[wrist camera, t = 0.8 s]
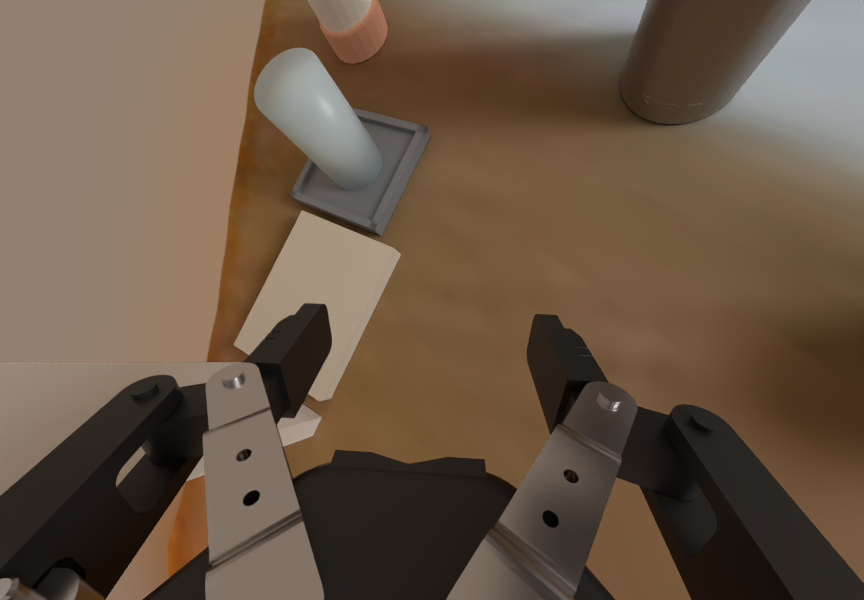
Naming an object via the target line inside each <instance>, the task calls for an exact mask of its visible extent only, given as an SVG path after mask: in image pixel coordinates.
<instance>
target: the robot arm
mask: <svg viewBox="0 0 864 600" xmlns="http://www.w3.org/2000/svg"><path fill="white" fill-rule="evenodd" d="M810 1H811V0H647V3H646V6H645V9H644V12H643V15H642V18H641V20H640V23H639V26H638V29H637V31H636V34H635V37H634V40H633V43H632V46H631V48H630V51H629V54H628V57H627V60H626V63H625V66H624V68H623V71H622V75H621V80H620V91H621V94H622V97H623V100H624V101H625V103H626V104H627V106H628V107H629V108H630V109H631V110H632V111H633V112H635V113H636V114H637V115H639V116H641V117H643V118H645V119H647V120H650V121H653V122H657V123H664V124H684V123H688V122H693V121H697V120H700V119H702V118H705V117H708V116H710V115H712V114H713V113H715V112H717V111H718V110H720V109H721V108H723V107H724V106H725V105H726V104H727V103H728V102H729V101H730V100H731V99H732V98H733V97H734V95H735V94H736V93H737V92H738V90H739V89H740V88H741V87H742V85H743V84H744V83H745V82H746V80H747V79H748V78H749V77H750V75H751V74H752V73H753V72H754V70H755V69H756V68H757V67H758V66H759V64H760V63H761V62H762V61H763V59H764V58H765V57H766V56H767V55H768V54H769V52H770V51H771V50H772V49H773V47H774V46H775V45H776V44H777V42H778V41H779V40H780V39H781V37H782V36H783V35H784V34H785V32H786V31H787V30H788V29H789V27H790V26H791V25H792V24H793V22H794V21H795V20H796V19H797V17H798V16H799V15H800V14H801V12H802V11H803V10H804V9H805V7H806V6H807V5H808V4H809V2H810ZM331 346H332V334H331V328H330V322H329V316H328V310H327V307H326V305H325V304H316V303H304V304H303V305H302V306H301V307H300V309H299V310H298V311H297V312H296V314H295V315H289V316H288V317H286V318H284V319H283V320H281V321H279V322H278V323H277V324H276V325H275V327H274V328H273V329H272V330H271V332H269V333H268V335H267V336H266V337H265V339H263V340H262V341H261V343H260V344H259V345H258V346H257V347H256V348H255V350H254V351H253V352H252V353H251V354H250V355H249V356H248V358H247V359H246V360H245V361H244V362H243V363H236V364H232V365H229V366H226V367H224V368H222V369H220V370H218V371H217V372H215V373H214V374H213V375H212V376H211V377H210V378H209V379H208V381H207V383H202V384H196V385H190V386H184V387H179V386H178V384H177V382H176V380H175V378H174V377H172V376H170V375H155V376H150V377H147V378H144V379H141V380H139V381H136V382H134V383H132V384H131V385H129V386H127V387H126V388H124V389H123V390H122V391H120V392H119V393H118V394H117V395H116V396H115V397H113V398H112V399H111V400H110V401H109V402H108V403H107V404H105V405H104V406H103V407H102V408H101V409H100V410H98V411H97V412H96V413H95V414H94V415H93V416H92V417H90V418H89V419H88V420H87V421H86V422H85V423H84V424H82V425H81V426H80V427H79V428H78V429H77V430H75V431H74V432H73V433H72V434H71V435H70V436H69V437H67V438H66V439H65V440H64V441H63V442H62V443H60V444H59V445H58V446H57V447H56V448H55V449H54V450H52V451H51V452H50V453H49V454H48V455H47V456H46V457H44V458H43V459H42V460H41V461H40V462H39V463H37V464H36V465H35V466H34V467H33V468H32V469H31V470H29V471H28V472H27V473H26V474H25V475H24V476H22V477H21V478H20V479H19V480H18V481H17V482H16V483H14V484H13V485H12V486H11V487H10V488H9V489H8V490H6V491H5V492H4V493H3V494H2V495H1V496H0V600H105V599H106V598H107V596H108V595H109V593H110V592H111V590H112V589H113V587H114V586H115V584H116V583H117V581H118V580H119V578H120V577H121V576H122V574H123V573H124V571H125V570H126V568H127V567H128V565H129V564H130V562H131V561H132V559H133V558H134V557H135V555H136V554H137V552H138V551H139V549H140V548H141V546H142V545H143V543H144V542H145V540H146V539H147V537H148V536H149V534H150V533H151V531H152V530H153V529H154V527H155V526H156V524H157V523H158V521H159V520H160V518H161V517H162V515H163V514H164V512H165V511H166V509H167V508H168V506H169V505H170V504H171V502H172V501H173V499H174V498H175V496H176V495H177V493H178V492H179V490H180V489H181V487H182V486H183V485H184V483H185V482H186V480H187V479H188V477H189V476H190V474H191V473H192V471H193V470H194V468H195V467H196V465H197V464H198V462H199V461H200V460H201V458H202V457H203V455H204V472H205V489H206V507H207V524H208V541H209V546H208V547H207V548H206V549H205V550H203V551H202V552H201V553H200V554H198V555H197V556H196V557H195V558H193V559H192V560H191V561H190V562H189V563H187V564H186V565H185V566H184V567H182V568H181V569H180V570H179V571H177V572H176V573H175V574H174V575H172V576H171V577H170V578H169V579H168V580H166V581H165V582H164V583H163V584H161V585H160V586H159V587H158V588H156V589H155V590H154V591H153V592H151V593H150V594H149V595H148V596H147V597H145V598H144V599H143V600H615V599H614V598H613V596H612V595H611V594H610V593H609V592H608V591H607V589H606V588H605V587H604V586H603V585H602V584H601V583H600V581H599V580H598V579H597V578H596V577H595V576H594V575H593V573H592V572H591V571H590V570H589V569H588V568H587V566H586V565H585V564H586V561H587V558H588V556H589V553H590V550H591V547H592V544H593V541H594V538H595V536H596V533H597V530H598V527H599V524H600V521H601V519H602V516H603V513H604V510H605V507H606V504H607V501H608V499H609V496H610V493H611V490H612V487H613V484H614V481H615V479H616V477H617V478H620V479H623V480H626V481H628V482H631V483H634V484H637V485H639V486H640V488H641V490H642V492H643V494H644V497H645V499H646V501H647V503H648V505H649V508H650V510H651V512H652V514H653V516H654V519H655V521H656V523H657V525H658V527H659V529H660V532H661V534H662V536H663V538H664V540H665V543H666V545H667V547H668V549H669V551H670V554H671V556H672V558H673V560H674V562H675V564H676V567H677V569H678V571H679V573H680V575H681V578H682V580H683V582H684V584H685V586H686V589H687V591H688V593H689V595H690V597H691V599H692V600H864V583H863V582H862V581H861V580H860V579H859V577H858V576H857V575H856V574H855V573H854V571H853V570H852V569H851V568H850V567H849V566H848V564H847V563H846V562H845V561H844V560H843V558H842V557H841V556H840V555H839V554H838V553H837V551H836V550H835V549H834V548H833V547H832V545H831V544H830V543H829V542H828V541H827V540H826V538H825V537H824V536H823V535H822V534H821V533H820V531H819V530H818V529H817V528H816V527H815V525H814V524H813V523H812V522H811V521H810V520H809V518H808V517H807V516H806V515H805V514H804V512H803V511H802V510H801V509H800V508H799V507H798V505H797V504H796V503H795V502H794V501H793V499H792V498H791V497H790V496H789V495H788V494H787V492H786V491H785V490H784V489H783V488H782V487H781V485H780V484H779V483H778V482H777V481H776V479H775V478H774V477H773V476H772V475H771V474H770V472H769V471H768V470H767V469H766V468H765V466H764V465H763V464H762V463H761V462H760V461H759V459H758V458H757V457H756V456H755V455H754V453H753V452H752V451H751V450H750V449H749V448H748V446H747V445H746V444H745V443H744V442H743V440H742V439H741V438H740V437H739V436H738V435H737V433H736V432H735V431H734V430H733V429H732V428H731V427H730V425H729V424H727V423H726V422H725V421H724V420H723V419H721V418H720V417H718V416H717V415H715V414H713V413H712V412H710V411H708V410H705V409H703V408H700V407H697V406H693V405H684V404H683V405H678V406H675V407H674V408H673V409H672V411H671V413H670V415H666V414H662V413H659V412H655V411H652V410H648V409H645V408H642V407H639V406H637V404H636V402H635V400H634V399H633V397H632V396H631V395H630V394H629V393H627V392H626V391H625V390H623V389H622V388H620V387H618V386H616V385H613V384H611V383H609V382H608V380H607V379H606V377H605V376H604V374H603V372H602V371H601V369H600V367H599V366H598V364H597V362H596V361H595V359H594V357H592V354H591V352H590V351H589V349H587V346H586V344H585V342H584V341H583V339H582V338H581V337H580V336H579V335H578V334H577V333H575V332H574V331H573V330H572V329H565V328H564V327H563V325H562V323H561V322H560V320H559V318H558V316H557V315H545V314H536V315H535V316H534V318H533V323H532V328H531V332H530V337H529V342H528V347H527V361H528V365H529V368H530V372H531V375H532V378H533V381H534V384H535V387H536V391H537V394H538V397H539V400H540V403H541V406H542V409H543V413H544V416H545V419H546V422H547V425H548V428H549V432H550V435H551V436H550V437H549V439H548V440H547V442H546V444H545V445H544V447H543V449H542V450H541V452H540V454H539V455H538V457H537V458H536V460H535V462H534V463H533V465H532V467H531V468H530V470H529V471H528V473H527V475H526V476H525V478H524V480H523V481H522V483H521V484H520V486H519V488H518V489H516V488H515V487H514V486H512V485H511V484H510V483H508V482H506V481H505V480H503V479H501V478H499V477H497V476H495V475H493V474H490V473H487V472H486V469H485V459H470V458H454V457H445V458H440V459H434V460H429V461H423V462H418V463H412V464H407V463H403V462H400V461H397V460H394V459H391V458H388V457H385V456H382V455H378V454H375V453H372V452H359V451H343V450H335V453H334V456H333V459H332V462H331V463H326V464H323V465H319V466H316V467H314V468H312V469H309V470H307V471H305V472H303V473H301V474H299V475H298V476H296V477H295V478H293V477H292V473H291V470H290V467H289V463H288V460H287V457H286V453H285V450H284V447H283V443H282V440H281V437H280V434H279V430H278V427H277V424H278V422H279V421H280V419H281V418H295V417H296V415H297V413H298V411H299V409H300V407H301V405H302V404H303V402H304V400H305V398H306V396H307V394H308V392H309V390H310V389H311V387H312V385H313V383H314V381H315V379H316V377H317V375H318V374H319V372H320V370H321V368H322V366H323V364H324V362H325V360H326V359H327V357H328V355H329V353H330V350H331ZM140 447H142V449H143V450H144V452H145V454H144V456H143V457H142V458H141V459H140V460H139V461H138V463H137V464H136V465H135V466H134V467H133V468H132V470H131V471H130V472H129V473H128V474H127V475H126V477H125V478H124V479H123V480H122V481H121V482H120V483H119V485H118V486H117V487H116V480H117V476H118V474H119V472H120V470H121V469H122V467H123V466H124V465H125V464H126V463H127V461H128V460H129V459H130V458H131V457H132V456H133V455H134V454H135V452H136V451H137V450H138V449H139V448H140ZM704 495H705V496H704Z"/></svg>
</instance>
